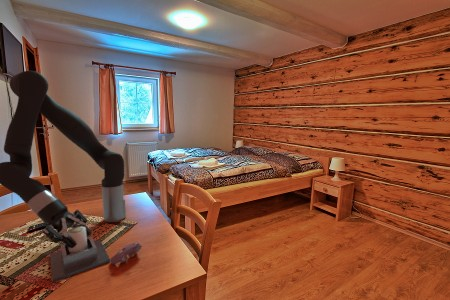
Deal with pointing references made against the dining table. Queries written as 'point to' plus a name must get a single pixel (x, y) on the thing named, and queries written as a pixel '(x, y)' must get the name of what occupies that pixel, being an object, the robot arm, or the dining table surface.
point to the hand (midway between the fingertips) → (82, 240)
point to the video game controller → (126, 253)
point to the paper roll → (78, 239)
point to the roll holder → (77, 260)
